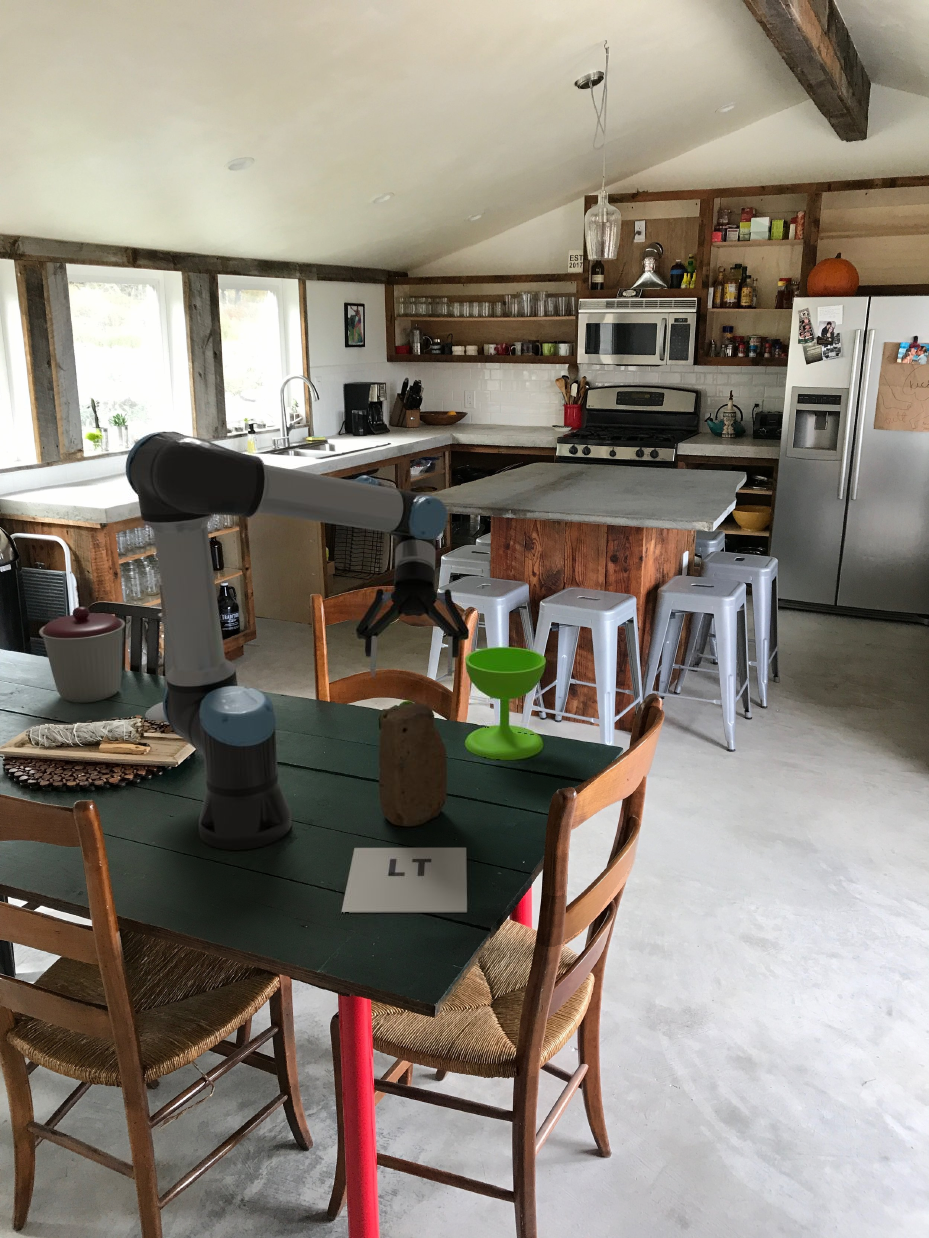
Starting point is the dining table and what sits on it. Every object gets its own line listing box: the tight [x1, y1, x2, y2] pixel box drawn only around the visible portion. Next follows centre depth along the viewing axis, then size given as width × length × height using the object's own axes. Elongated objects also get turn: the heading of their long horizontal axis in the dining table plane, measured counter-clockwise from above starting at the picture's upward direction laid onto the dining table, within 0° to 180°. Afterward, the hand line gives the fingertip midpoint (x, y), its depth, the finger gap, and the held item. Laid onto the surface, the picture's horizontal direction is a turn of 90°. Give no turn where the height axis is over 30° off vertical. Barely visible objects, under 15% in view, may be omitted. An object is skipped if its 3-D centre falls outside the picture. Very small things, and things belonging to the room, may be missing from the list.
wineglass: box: [464, 646, 547, 761], centre depth 195 cm, size 16×16×18 cm
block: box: [378, 702, 448, 827], centre depth 165 cm, size 11×8×20 cm
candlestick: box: [144, 582, 174, 722], centre depth 208 cm, size 13×13×30 cm
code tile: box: [341, 847, 468, 914], centre depth 148 cm, size 18×18×1 cm
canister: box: [38, 606, 126, 704], centre depth 221 cm, size 18×18×21 cm
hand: (411, 672), depth 171 cm, fingers open, 13 cm apart
